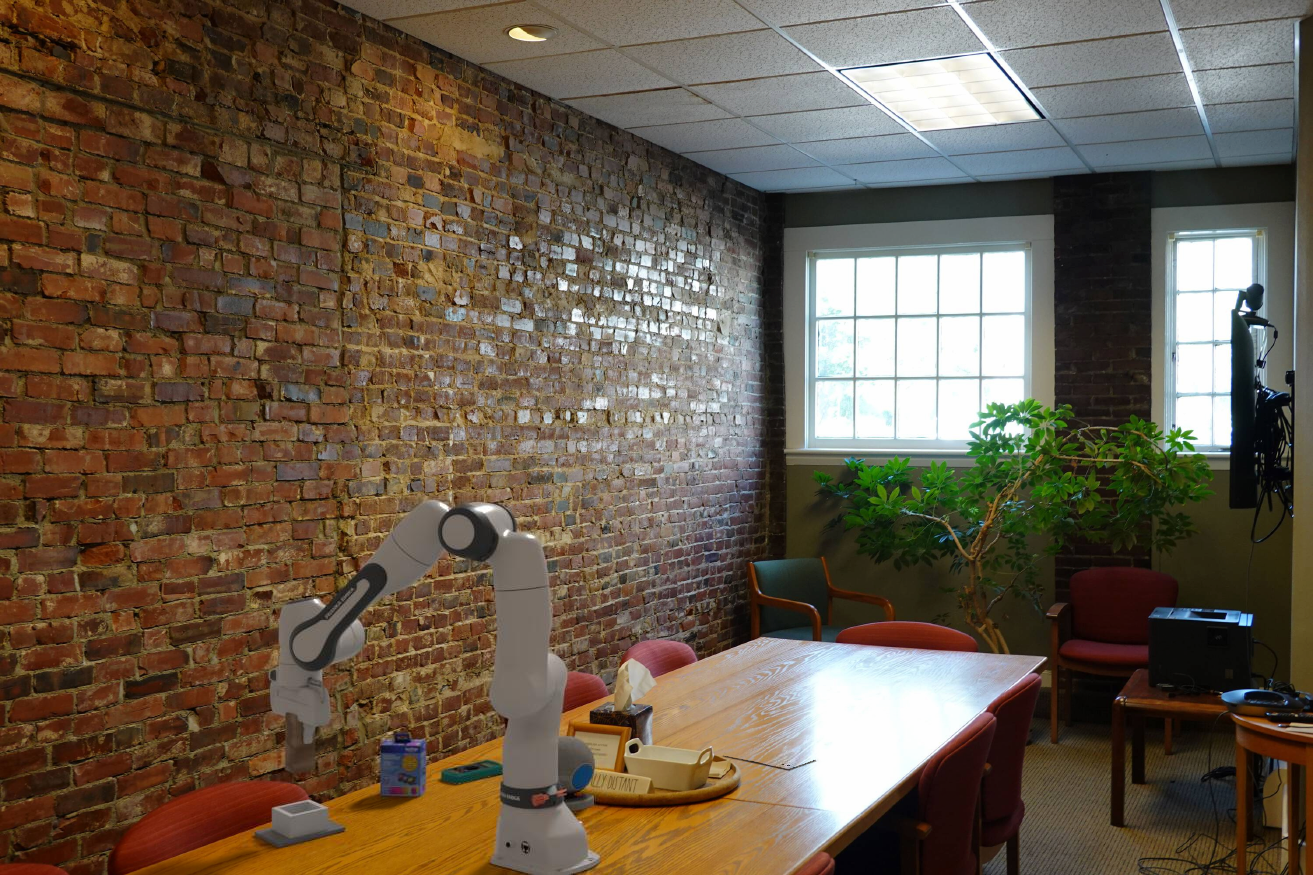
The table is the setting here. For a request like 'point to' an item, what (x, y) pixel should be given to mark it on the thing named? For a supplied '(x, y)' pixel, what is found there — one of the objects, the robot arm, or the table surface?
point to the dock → (298, 824)
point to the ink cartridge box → (402, 767)
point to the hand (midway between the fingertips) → (300, 740)
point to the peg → (297, 747)
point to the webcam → (575, 771)
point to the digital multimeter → (471, 771)
